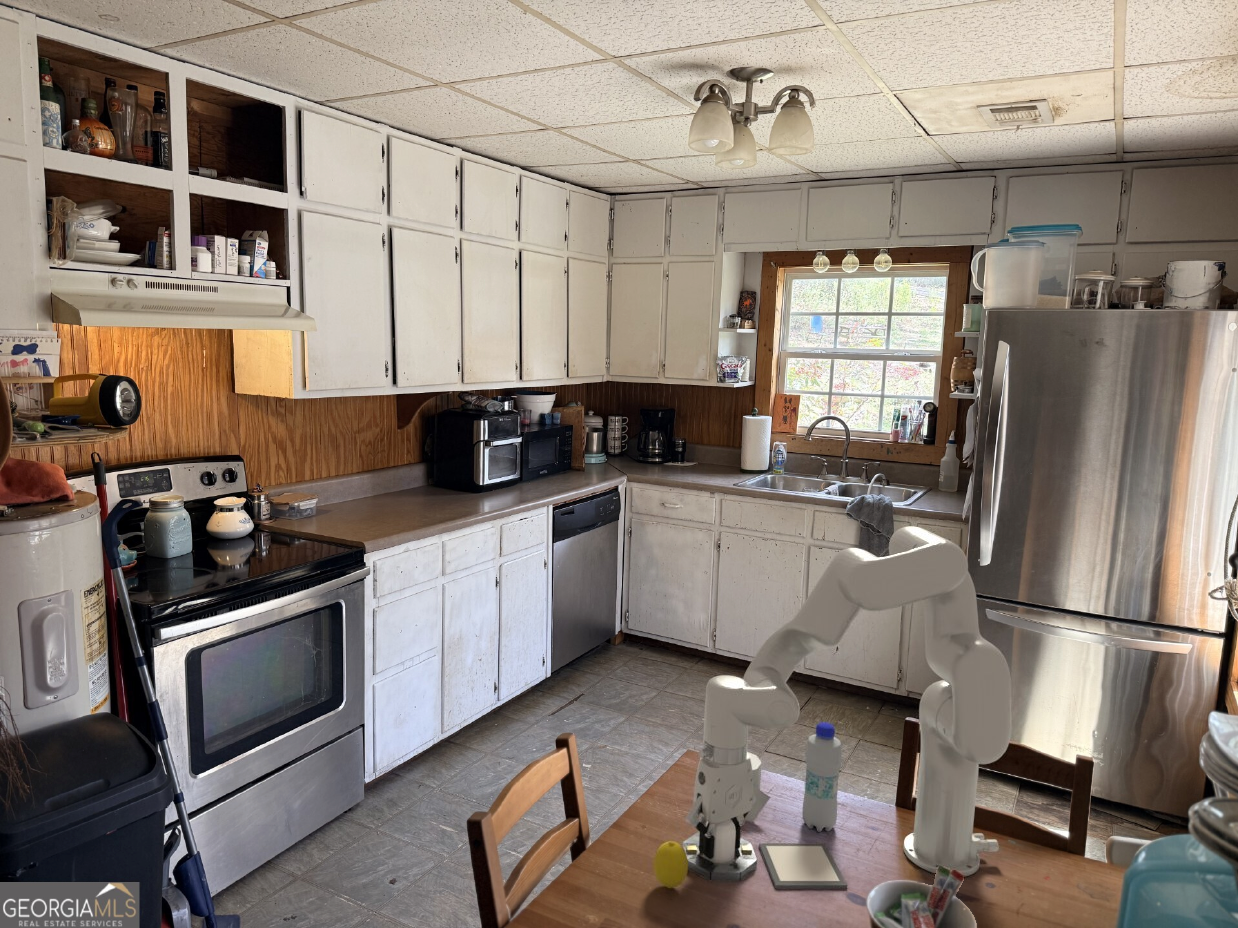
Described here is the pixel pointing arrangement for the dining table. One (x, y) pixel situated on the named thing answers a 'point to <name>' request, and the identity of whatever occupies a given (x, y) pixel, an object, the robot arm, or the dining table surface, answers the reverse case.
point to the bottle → (822, 778)
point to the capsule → (723, 842)
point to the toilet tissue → (756, 789)
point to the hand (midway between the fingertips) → (719, 848)
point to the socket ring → (720, 870)
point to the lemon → (670, 864)
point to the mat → (802, 866)
